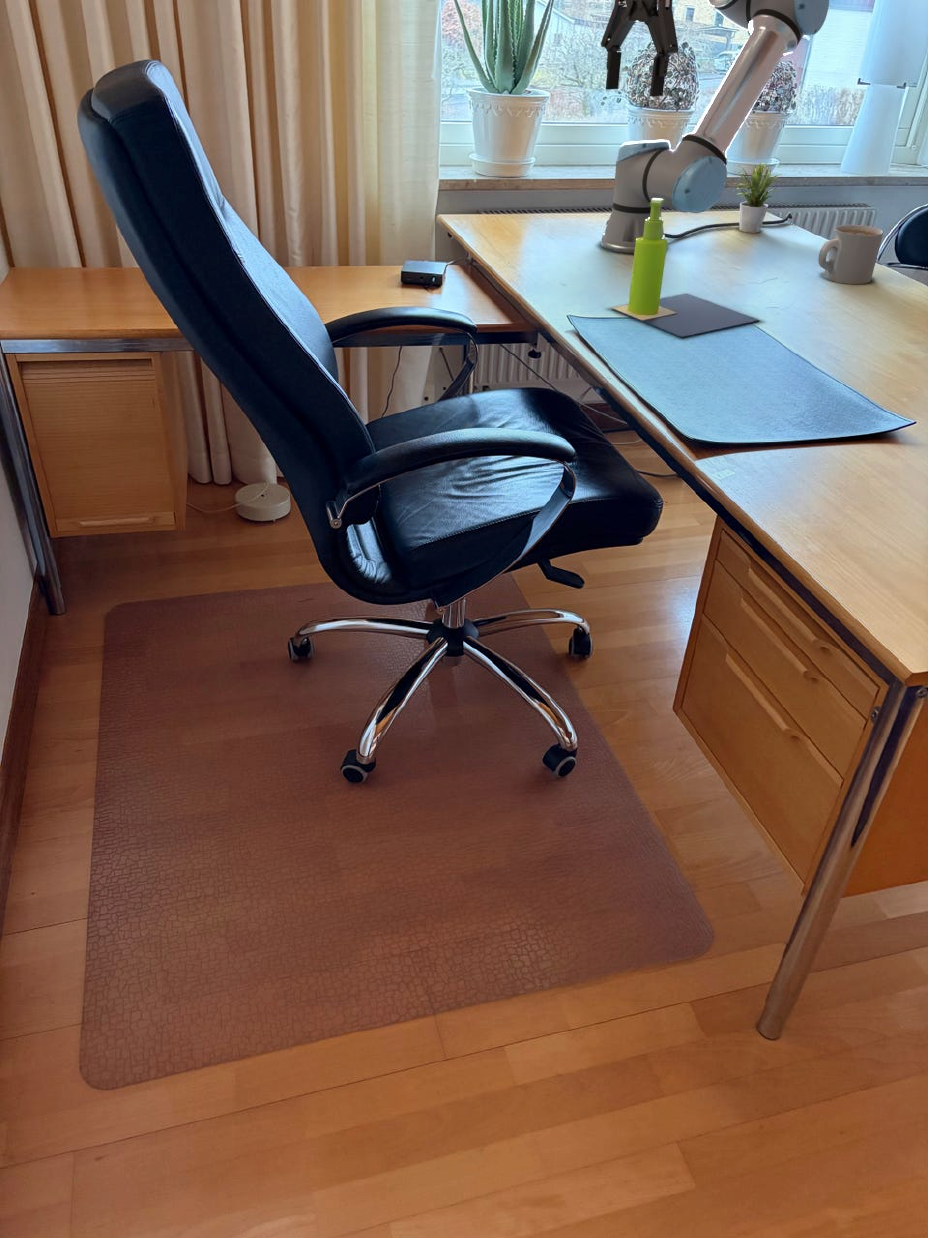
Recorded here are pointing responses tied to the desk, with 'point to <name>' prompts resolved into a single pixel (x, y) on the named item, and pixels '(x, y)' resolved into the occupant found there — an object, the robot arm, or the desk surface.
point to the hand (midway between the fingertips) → (633, 92)
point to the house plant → (754, 200)
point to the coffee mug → (851, 254)
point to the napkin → (689, 316)
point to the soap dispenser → (648, 265)
